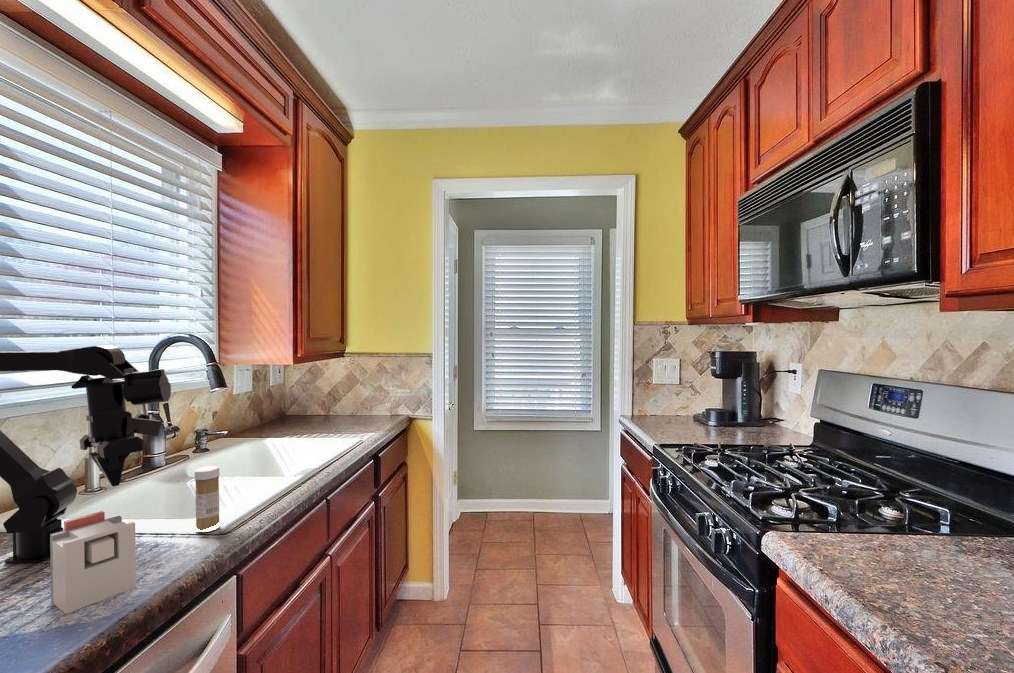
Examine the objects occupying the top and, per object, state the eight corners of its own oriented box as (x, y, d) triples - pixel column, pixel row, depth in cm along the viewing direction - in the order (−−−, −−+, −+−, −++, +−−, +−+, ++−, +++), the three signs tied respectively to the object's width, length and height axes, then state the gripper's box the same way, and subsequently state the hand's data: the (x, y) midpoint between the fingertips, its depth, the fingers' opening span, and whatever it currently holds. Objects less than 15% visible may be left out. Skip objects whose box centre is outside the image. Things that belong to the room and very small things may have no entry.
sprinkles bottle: (218, 523, 106) (217, 463, 106) (221, 530, 102) (221, 468, 102) (193, 529, 103) (193, 467, 103) (196, 536, 99) (195, 472, 99)
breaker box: (51, 601, 75) (50, 534, 75) (119, 576, 83) (119, 515, 83) (65, 614, 72) (64, 543, 72) (135, 586, 80) (135, 523, 80)
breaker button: (64, 560, 78) (64, 521, 78) (102, 548, 82) (102, 511, 82) (83, 573, 74) (82, 531, 73) (122, 560, 78) (122, 520, 78)
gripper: (171, 402, 95) (179, 479, 95) (141, 399, 106) (148, 468, 107) (100, 413, 86) (109, 498, 87) (75, 409, 97) (83, 483, 98)
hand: (115, 485), depth 95 cm, fingers closed
